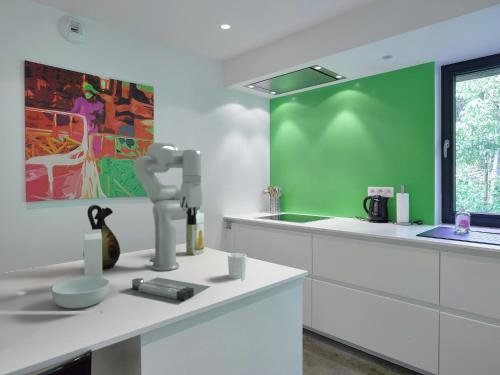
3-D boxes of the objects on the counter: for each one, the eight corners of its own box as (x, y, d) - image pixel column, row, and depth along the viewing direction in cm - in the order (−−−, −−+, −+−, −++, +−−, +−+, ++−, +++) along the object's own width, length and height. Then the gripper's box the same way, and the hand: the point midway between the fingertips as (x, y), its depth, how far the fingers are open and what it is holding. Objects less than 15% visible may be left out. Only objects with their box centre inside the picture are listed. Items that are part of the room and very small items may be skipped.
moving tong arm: (129, 288, 120) (129, 280, 120) (139, 285, 124) (139, 277, 124) (185, 300, 109) (185, 291, 109) (193, 295, 113) (193, 286, 113)
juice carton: (194, 256, 176) (194, 211, 175) (184, 254, 180) (184, 211, 180) (206, 252, 184) (206, 210, 183) (195, 251, 188) (195, 209, 187)
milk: (102, 287, 125) (102, 230, 125) (84, 289, 122) (84, 231, 122) (100, 282, 131) (100, 228, 130) (84, 284, 128) (83, 229, 127)
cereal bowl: (49, 320, 96) (49, 296, 96) (53, 301, 111) (53, 280, 111) (111, 309, 104) (111, 288, 104) (107, 293, 119) (107, 274, 119)
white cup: (244, 282, 132) (244, 257, 132) (225, 280, 134) (225, 256, 134) (248, 276, 140) (248, 253, 140) (230, 275, 142) (230, 252, 141)
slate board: (119, 295, 117) (119, 292, 117) (157, 279, 135) (157, 277, 135) (178, 307, 106) (178, 304, 106) (210, 289, 124) (210, 286, 124)
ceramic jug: (104, 263, 160) (103, 202, 159) (127, 267, 153) (127, 203, 152) (72, 272, 144) (71, 205, 144) (96, 277, 138) (95, 206, 137)
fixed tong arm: (138, 291, 117) (138, 284, 117) (143, 289, 119) (143, 282, 119) (183, 300, 108) (183, 293, 108) (188, 298, 111) (188, 290, 111)
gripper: (194, 179, 142) (194, 221, 142) (172, 180, 128) (172, 226, 129) (209, 180, 139) (209, 222, 139) (188, 180, 125) (188, 227, 126)
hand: (191, 224), depth 134 cm, fingers closed
